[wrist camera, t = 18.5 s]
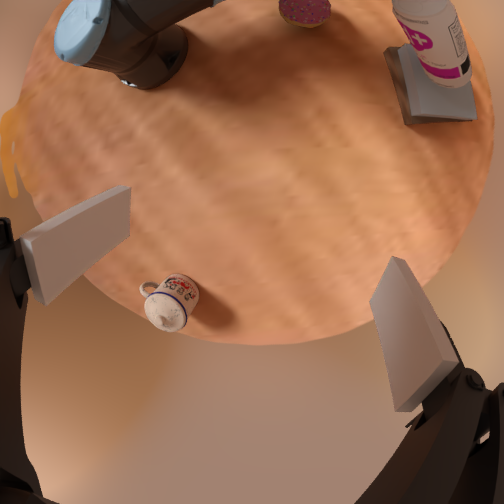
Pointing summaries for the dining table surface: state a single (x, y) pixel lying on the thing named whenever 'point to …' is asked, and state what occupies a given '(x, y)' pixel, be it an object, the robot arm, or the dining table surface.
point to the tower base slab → (402, 93)
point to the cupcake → (305, 12)
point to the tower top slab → (434, 92)
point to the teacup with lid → (170, 302)
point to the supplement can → (436, 39)
